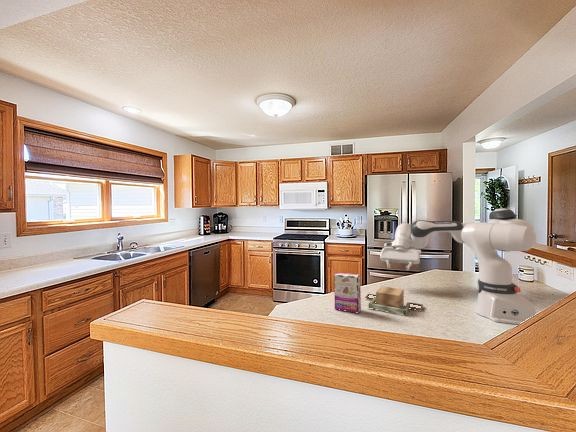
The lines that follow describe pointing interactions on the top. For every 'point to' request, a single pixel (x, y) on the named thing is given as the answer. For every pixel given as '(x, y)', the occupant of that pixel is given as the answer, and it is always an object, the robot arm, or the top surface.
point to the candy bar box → (347, 292)
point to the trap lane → (392, 309)
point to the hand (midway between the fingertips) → (397, 268)
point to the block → (390, 297)
